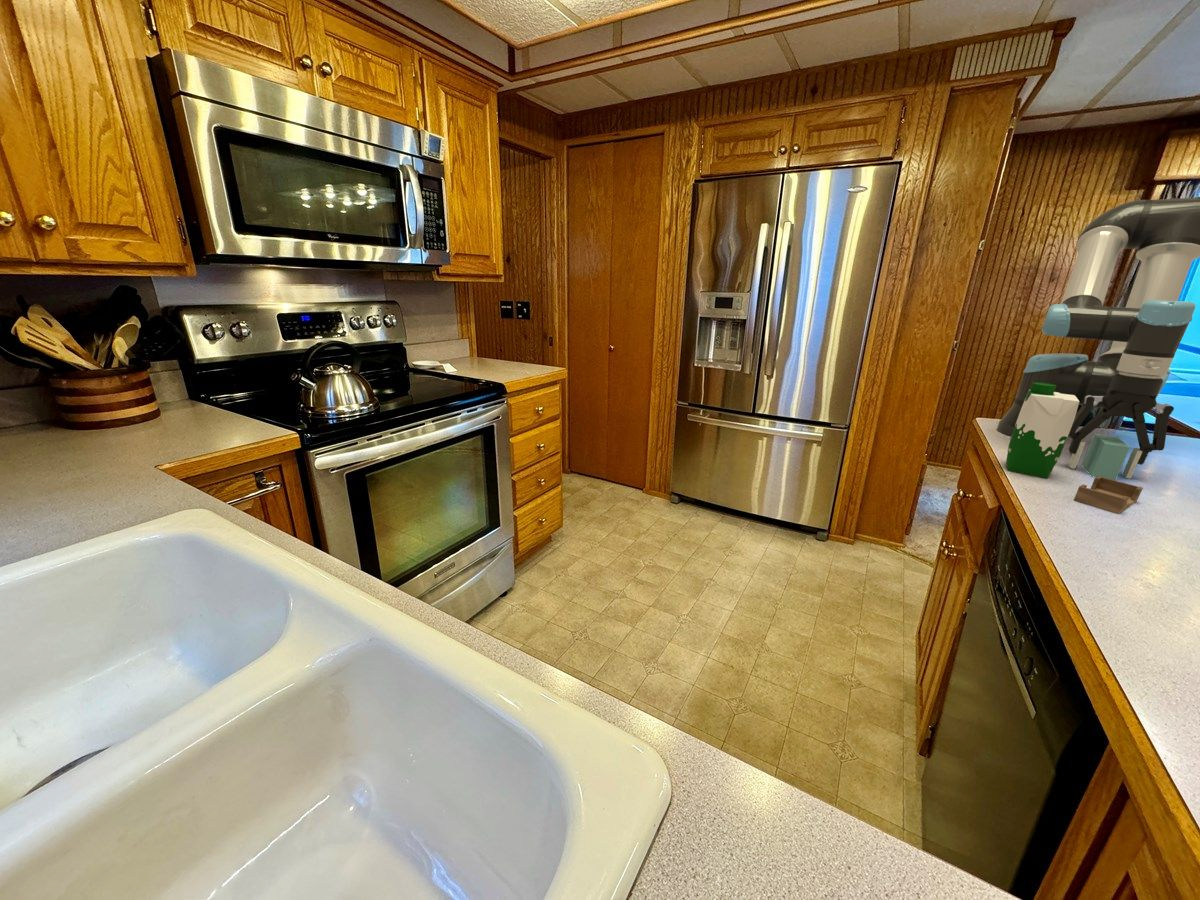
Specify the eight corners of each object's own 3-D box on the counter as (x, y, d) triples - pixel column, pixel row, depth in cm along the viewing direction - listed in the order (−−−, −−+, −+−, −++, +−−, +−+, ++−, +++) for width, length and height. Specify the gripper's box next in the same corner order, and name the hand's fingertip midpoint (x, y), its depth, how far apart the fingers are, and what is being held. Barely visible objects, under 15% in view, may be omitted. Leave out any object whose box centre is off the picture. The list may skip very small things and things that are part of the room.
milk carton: (1001, 460, 117) (1029, 379, 110) (1050, 469, 112) (1082, 385, 105) (1002, 470, 111) (1031, 385, 104) (1054, 481, 106) (1088, 392, 99)
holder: (1093, 488, 102) (1098, 476, 101) (1136, 501, 97) (1143, 487, 96) (1073, 500, 96) (1079, 486, 95) (1118, 513, 91) (1125, 499, 90)
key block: (1081, 464, 116) (1094, 433, 114) (1104, 468, 114) (1117, 437, 111) (1091, 476, 109) (1104, 443, 106) (1115, 481, 107) (1130, 447, 104)
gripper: (1077, 370, 106) (1041, 465, 114) (1221, 385, 95) (1170, 488, 103) (1069, 366, 112) (1036, 456, 120) (1204, 379, 101) (1157, 477, 109)
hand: (1098, 471), depth 112 cm, fingers open, 9 cm apart
